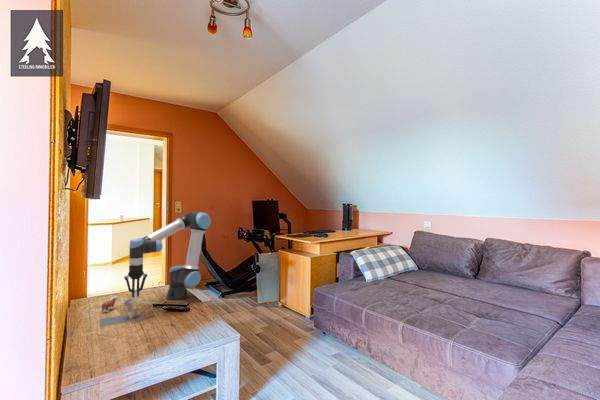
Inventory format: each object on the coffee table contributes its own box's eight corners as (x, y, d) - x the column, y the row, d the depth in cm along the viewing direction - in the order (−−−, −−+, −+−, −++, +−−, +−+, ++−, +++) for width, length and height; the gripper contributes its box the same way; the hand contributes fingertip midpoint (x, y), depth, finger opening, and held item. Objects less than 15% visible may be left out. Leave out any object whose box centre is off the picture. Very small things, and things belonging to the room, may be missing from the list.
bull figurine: (120, 307, 202) (120, 295, 202) (105, 315, 189) (105, 302, 189) (114, 306, 203) (114, 294, 202) (98, 314, 189) (99, 301, 189)
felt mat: (141, 312, 193) (141, 312, 193) (142, 319, 183) (143, 319, 183) (100, 319, 182) (100, 319, 182) (99, 327, 171) (99, 327, 171)
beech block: (138, 311, 189) (132, 297, 187) (139, 314, 185) (132, 300, 183) (129, 316, 187) (123, 301, 184) (130, 319, 182) (123, 304, 180)
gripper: (147, 262, 192) (146, 298, 192) (123, 264, 185) (122, 302, 185) (148, 264, 186) (147, 302, 186) (124, 266, 179) (123, 305, 179)
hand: (135, 302), depth 186 cm, fingers closed
